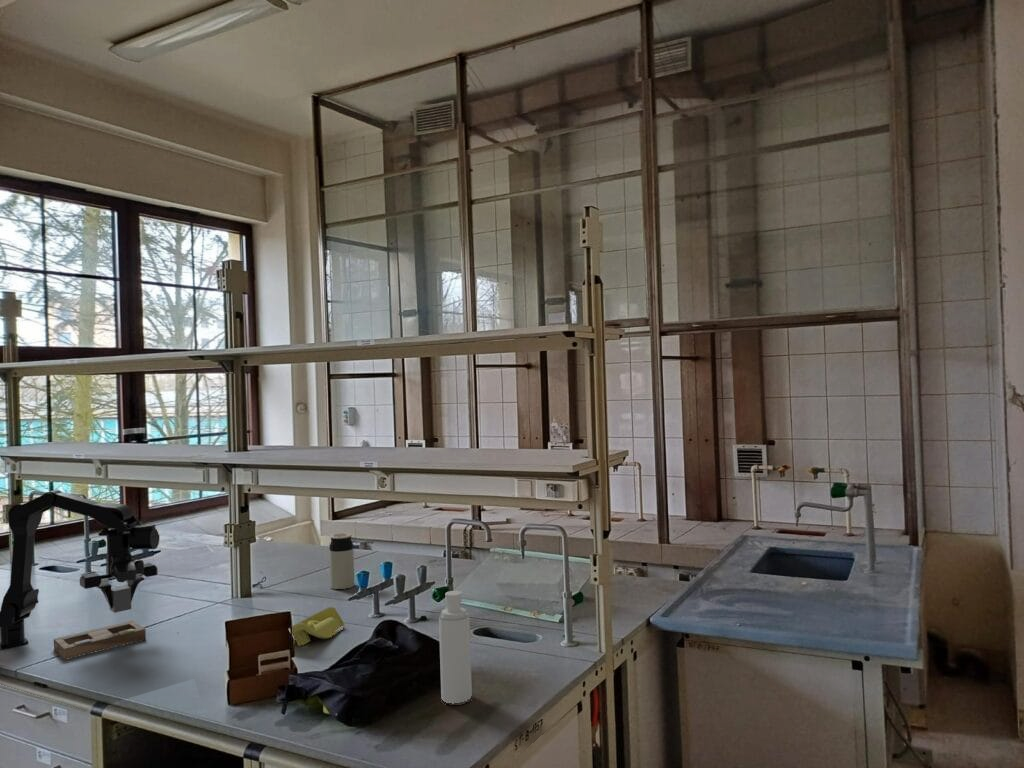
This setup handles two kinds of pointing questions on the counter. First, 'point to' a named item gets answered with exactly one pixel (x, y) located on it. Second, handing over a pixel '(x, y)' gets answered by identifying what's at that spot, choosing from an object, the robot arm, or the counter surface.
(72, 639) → the socket bar
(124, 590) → the plug
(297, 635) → the plastic component
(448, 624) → the white bottle
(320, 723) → the counter surface
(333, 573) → the travel mug
